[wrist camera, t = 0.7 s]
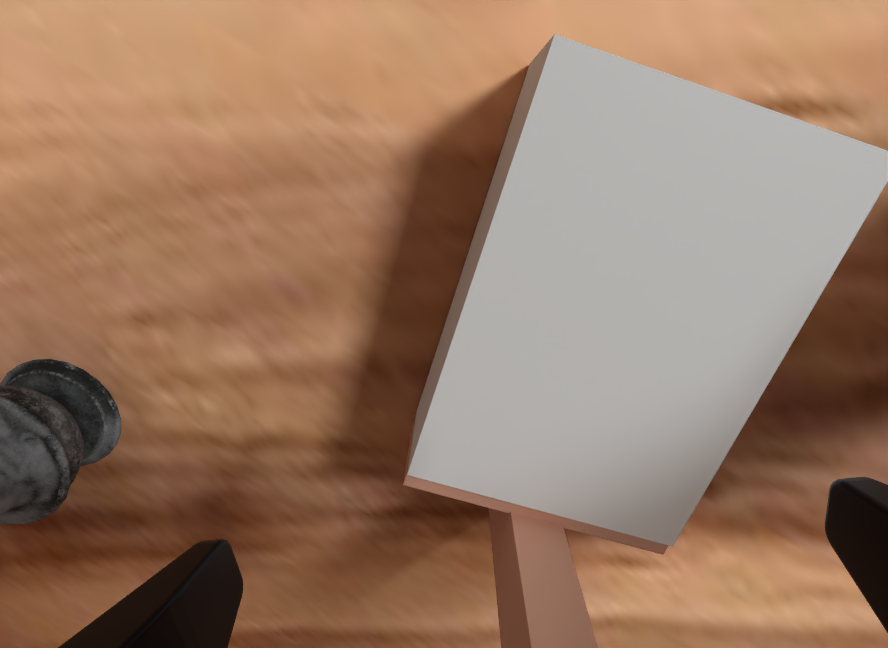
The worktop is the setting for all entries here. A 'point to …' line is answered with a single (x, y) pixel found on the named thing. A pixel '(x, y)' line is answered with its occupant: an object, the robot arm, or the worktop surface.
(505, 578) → the mailer tray
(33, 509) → the grey figurine
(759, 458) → the worktop surface
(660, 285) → the sleeve
